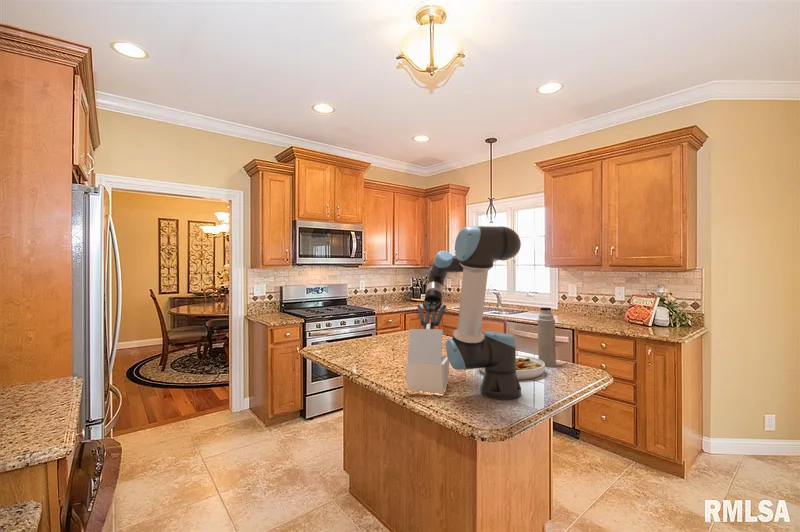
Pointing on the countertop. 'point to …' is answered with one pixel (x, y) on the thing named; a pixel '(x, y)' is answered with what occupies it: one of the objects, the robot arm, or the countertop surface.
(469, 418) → the countertop surface
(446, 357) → the white carton
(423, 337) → the carton flap
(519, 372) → the bowl
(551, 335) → the thermos bottle
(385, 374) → the countertop surface
